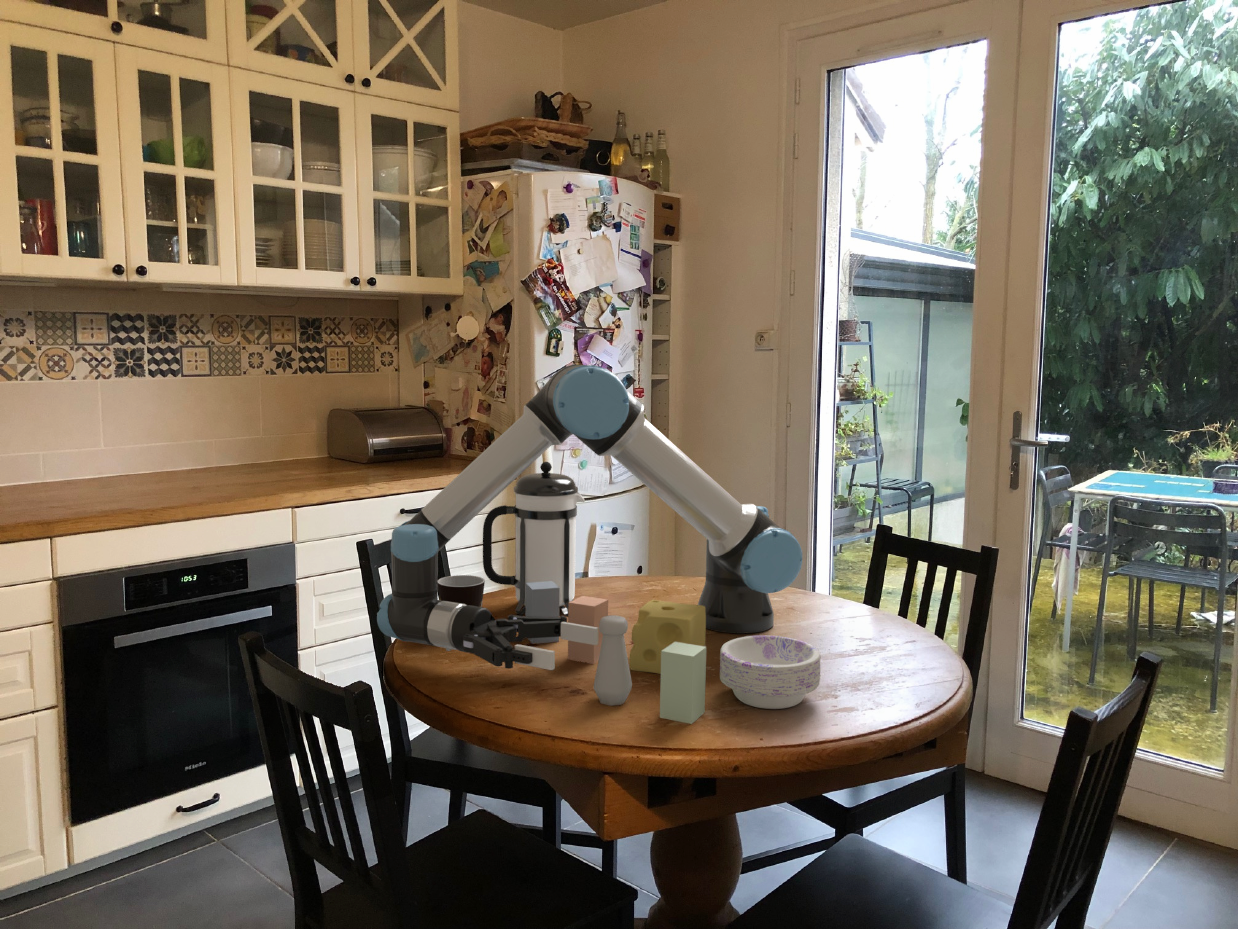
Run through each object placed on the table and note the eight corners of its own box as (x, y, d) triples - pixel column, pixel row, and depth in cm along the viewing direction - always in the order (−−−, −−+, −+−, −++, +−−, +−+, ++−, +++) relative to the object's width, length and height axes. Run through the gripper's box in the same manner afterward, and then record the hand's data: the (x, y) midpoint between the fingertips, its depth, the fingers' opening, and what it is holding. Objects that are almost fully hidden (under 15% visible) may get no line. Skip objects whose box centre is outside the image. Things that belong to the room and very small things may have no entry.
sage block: (673, 706, 146) (675, 641, 144) (704, 712, 144) (706, 646, 142) (659, 717, 141) (661, 651, 140) (691, 724, 139) (693, 656, 138)
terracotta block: (582, 651, 171) (582, 595, 170) (607, 655, 169) (608, 599, 167) (567, 659, 166) (568, 602, 165) (593, 664, 164) (594, 606, 163)
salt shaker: (636, 696, 149) (638, 614, 148) (624, 710, 144) (626, 624, 142) (600, 691, 151) (602, 610, 150) (587, 704, 146) (588, 620, 144)
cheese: (628, 671, 161) (629, 612, 160) (650, 652, 171) (651, 597, 170) (688, 680, 157) (690, 620, 156) (707, 660, 167) (709, 603, 166)
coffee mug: (475, 642, 175) (475, 588, 173) (430, 638, 176) (429, 584, 175) (496, 624, 186) (496, 573, 185) (453, 620, 188) (453, 570, 186)
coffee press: (547, 593, 209) (548, 455, 205) (596, 609, 197) (598, 462, 194) (480, 607, 197) (480, 460, 194) (528, 625, 186) (529, 469, 182)
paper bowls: (707, 709, 145) (709, 657, 144) (732, 676, 159) (733, 629, 158) (810, 724, 140) (812, 671, 139) (826, 689, 154) (828, 641, 153)
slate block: (551, 633, 181) (552, 581, 179) (559, 641, 176) (559, 587, 175) (525, 635, 179) (525, 582, 178) (532, 644, 174) (532, 589, 173)
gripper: (505, 630, 170) (613, 649, 161) (414, 672, 148) (532, 697, 138) (505, 588, 169) (613, 605, 160) (413, 624, 147) (533, 646, 138)
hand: (576, 648), depth 149 cm, fingers open, 13 cm apart
